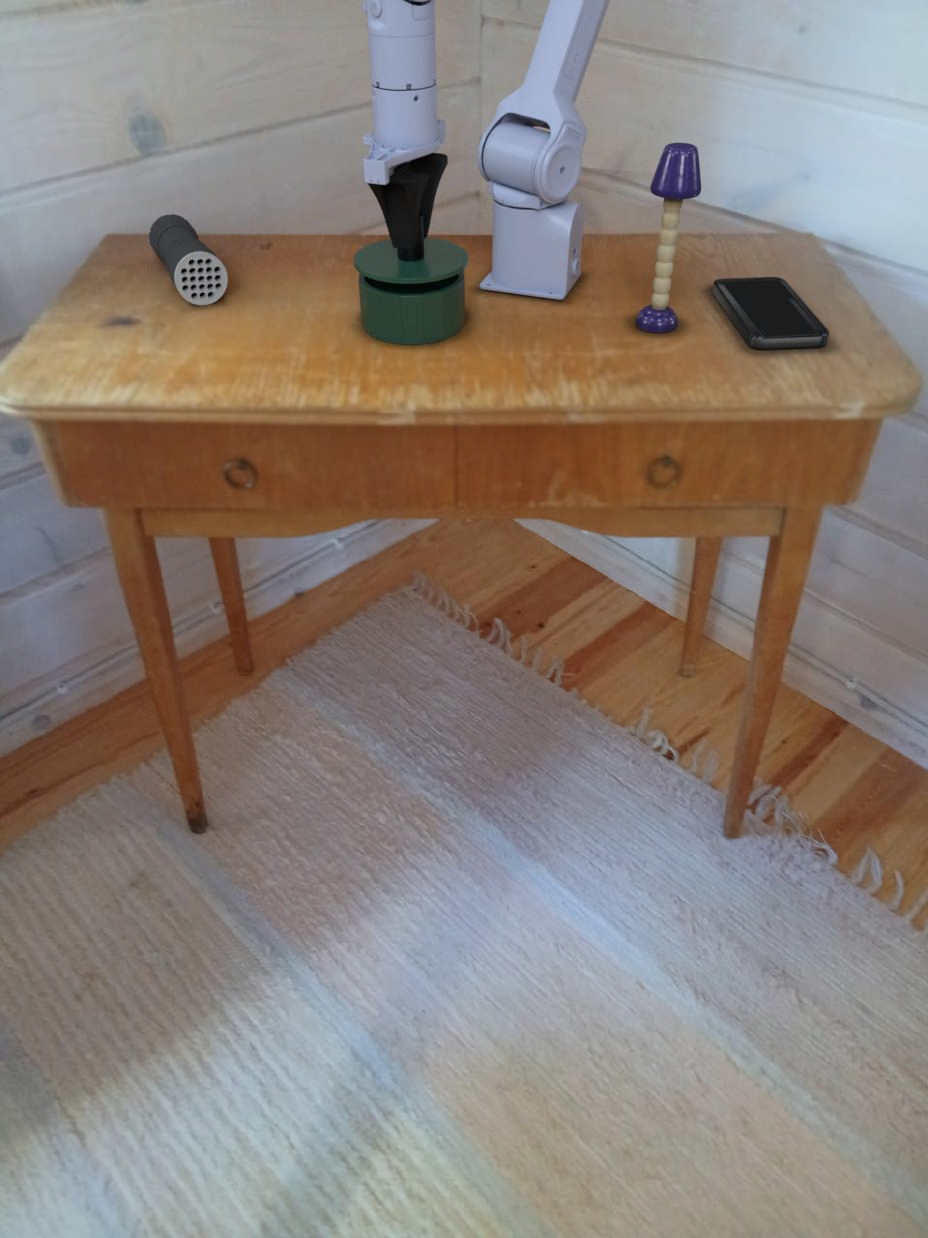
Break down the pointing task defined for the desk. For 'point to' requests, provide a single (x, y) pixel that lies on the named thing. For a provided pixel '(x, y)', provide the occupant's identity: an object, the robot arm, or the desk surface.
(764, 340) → the phone
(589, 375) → the desk surface
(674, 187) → the toy lamp
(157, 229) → the flashlight
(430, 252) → the lid
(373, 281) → the pot
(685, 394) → the desk surface
